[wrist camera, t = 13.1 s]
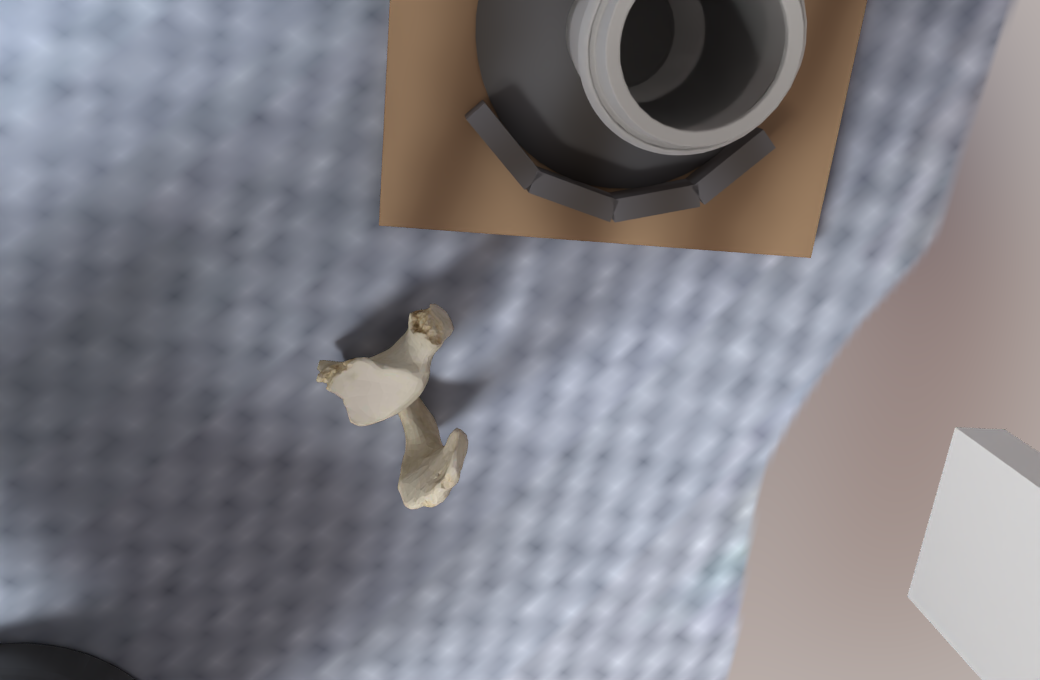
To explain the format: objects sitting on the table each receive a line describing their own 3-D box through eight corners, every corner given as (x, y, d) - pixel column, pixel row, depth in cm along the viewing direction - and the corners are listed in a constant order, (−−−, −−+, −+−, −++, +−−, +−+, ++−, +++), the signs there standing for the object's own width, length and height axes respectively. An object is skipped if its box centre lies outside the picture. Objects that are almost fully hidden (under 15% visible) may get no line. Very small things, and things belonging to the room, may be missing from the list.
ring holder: (380, 219, 40) (377, 233, 38) (402, -243, 34) (401, -263, 32) (800, 251, 43) (824, 266, 40) (891, -172, 37) (926, -185, 34)
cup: (677, -85, 36) (793, -121, 25) (722, 76, 38) (846, 109, 27) (512, -16, 36) (552, -23, 25) (567, 139, 39) (627, 197, 27)
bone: (304, 268, 39) (420, 371, 32) (429, 262, 43) (556, 353, 36) (287, 436, 43) (388, 561, 36) (404, 416, 46) (515, 526, 40)
